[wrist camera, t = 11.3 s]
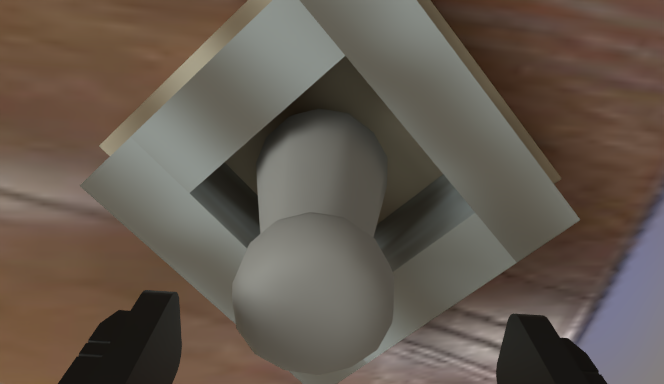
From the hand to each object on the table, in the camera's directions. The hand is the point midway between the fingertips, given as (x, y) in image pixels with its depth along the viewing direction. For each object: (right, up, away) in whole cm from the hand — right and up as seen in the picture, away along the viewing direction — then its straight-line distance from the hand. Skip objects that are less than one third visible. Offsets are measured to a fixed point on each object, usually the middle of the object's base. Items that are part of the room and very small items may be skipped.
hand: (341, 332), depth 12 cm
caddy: (0, +5, +13) cm, 14 cm away
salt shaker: (-1, +5, +12) cm, 13 cm away
